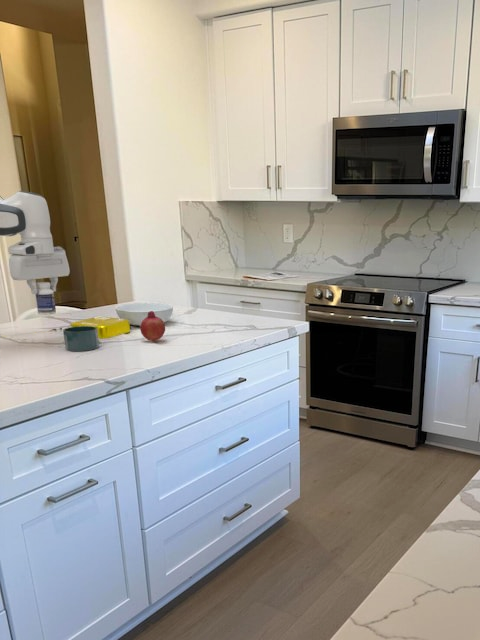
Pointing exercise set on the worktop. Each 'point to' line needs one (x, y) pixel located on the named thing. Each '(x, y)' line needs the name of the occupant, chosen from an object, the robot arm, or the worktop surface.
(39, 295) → the pill bottle
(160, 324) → the fruit
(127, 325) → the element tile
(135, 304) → the serving bowl
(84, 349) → the dark teal round container
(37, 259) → the robot arm
